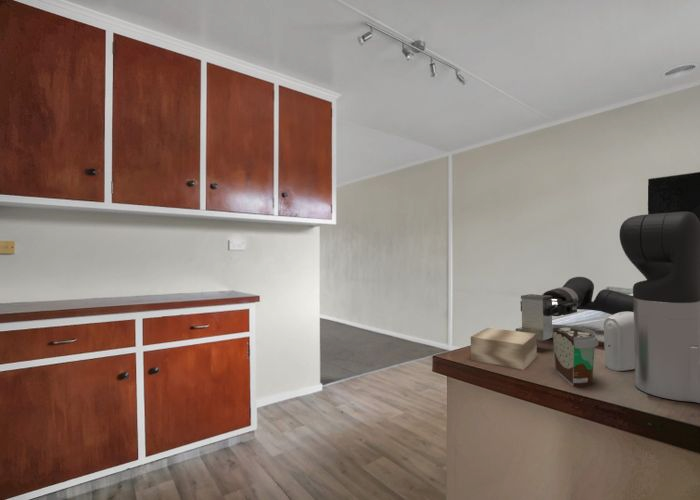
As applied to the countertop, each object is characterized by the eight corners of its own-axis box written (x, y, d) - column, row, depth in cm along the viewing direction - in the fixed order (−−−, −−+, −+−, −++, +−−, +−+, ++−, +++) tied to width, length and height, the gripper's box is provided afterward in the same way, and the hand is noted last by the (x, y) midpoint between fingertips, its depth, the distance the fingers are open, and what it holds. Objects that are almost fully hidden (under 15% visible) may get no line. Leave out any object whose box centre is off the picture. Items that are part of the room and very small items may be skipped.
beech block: (536, 357, 87) (536, 333, 87) (523, 371, 78) (522, 344, 78) (488, 349, 95) (487, 327, 95) (471, 360, 86) (470, 336, 86)
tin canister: (553, 337, 92) (552, 295, 92) (543, 340, 88) (542, 297, 88) (531, 333, 96) (530, 294, 96) (521, 336, 93) (520, 295, 93)
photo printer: (620, 373, 74) (619, 315, 74) (601, 366, 78) (599, 312, 78) (655, 367, 77) (654, 312, 77) (635, 361, 81) (634, 308, 81)
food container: (612, 391, 65) (611, 338, 65) (576, 389, 66) (575, 337, 66) (582, 368, 77) (581, 324, 77) (552, 367, 78) (551, 323, 78)
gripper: (588, 316, 96) (565, 329, 86) (534, 310, 108) (508, 321, 97) (587, 290, 96) (563, 299, 86) (533, 286, 108) (506, 294, 97)
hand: (534, 310), depth 91 cm, fingers closed on tin canister, 5 cm apart
